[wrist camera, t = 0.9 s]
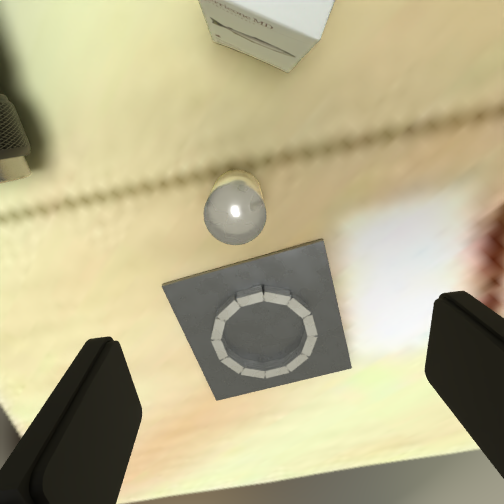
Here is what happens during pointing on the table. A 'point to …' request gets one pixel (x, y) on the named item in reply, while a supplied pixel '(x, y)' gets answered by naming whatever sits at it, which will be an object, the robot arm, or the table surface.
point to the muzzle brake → (12, 144)
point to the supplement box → (268, 27)
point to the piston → (235, 208)
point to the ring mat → (262, 320)
